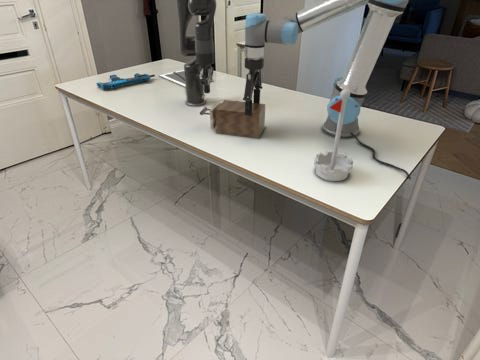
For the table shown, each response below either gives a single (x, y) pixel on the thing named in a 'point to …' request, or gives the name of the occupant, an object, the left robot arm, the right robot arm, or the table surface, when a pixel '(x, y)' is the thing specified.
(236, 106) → the cabinet
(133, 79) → the submachine gun
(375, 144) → the table surface
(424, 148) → the table surface
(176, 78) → the tablet
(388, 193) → the table surface
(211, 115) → the drawer
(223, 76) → the table surface
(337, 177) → the flag stand
